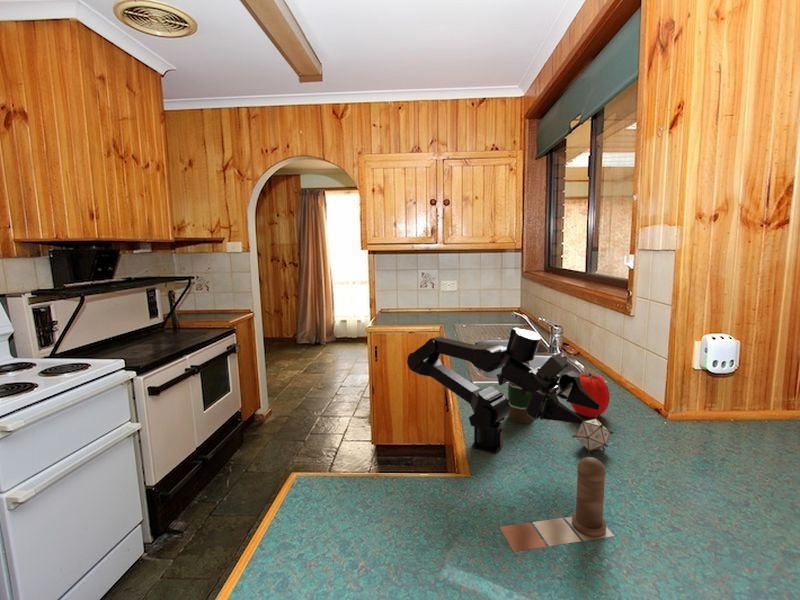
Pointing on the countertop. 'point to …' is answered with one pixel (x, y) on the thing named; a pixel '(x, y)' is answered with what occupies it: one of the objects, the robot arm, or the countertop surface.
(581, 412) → the tomato
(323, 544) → the countertop surface
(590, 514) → the pawn
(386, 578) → the countertop surface
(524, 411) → the beer bottle
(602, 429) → the game die
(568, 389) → the robot arm
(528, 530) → the board
